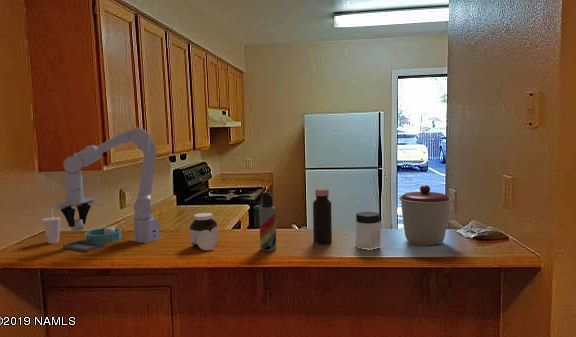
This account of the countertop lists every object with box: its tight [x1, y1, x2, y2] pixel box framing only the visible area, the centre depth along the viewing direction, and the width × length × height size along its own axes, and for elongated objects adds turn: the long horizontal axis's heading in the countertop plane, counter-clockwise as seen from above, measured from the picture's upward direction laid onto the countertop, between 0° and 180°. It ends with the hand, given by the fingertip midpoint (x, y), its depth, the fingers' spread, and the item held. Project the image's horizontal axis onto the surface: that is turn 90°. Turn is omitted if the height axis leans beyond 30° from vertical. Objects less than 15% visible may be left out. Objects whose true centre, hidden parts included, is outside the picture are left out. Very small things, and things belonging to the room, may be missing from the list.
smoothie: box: [42, 207, 62, 244], centre depth 165 cm, size 6×6×14 cm
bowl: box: [84, 227, 123, 244], centre depth 169 cm, size 13×13×4 cm
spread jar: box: [189, 212, 219, 251], centre depth 155 cm, size 12×11×12 cm
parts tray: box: [62, 239, 106, 253], centre depth 157 cm, size 13×7×2 cm, turn 62°
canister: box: [398, 184, 452, 246], centre depth 154 cm, size 18×18×21 cm
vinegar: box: [312, 188, 333, 245], centre depth 157 cm, size 7×7×20 cm
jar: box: [355, 211, 381, 249], centre depth 150 cm, size 9×8×12 cm
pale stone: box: [103, 226, 116, 235], centre depth 171 cm, size 4×4×4 cm
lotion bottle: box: [258, 193, 277, 252], centre depth 150 cm, size 6×6×20 cm
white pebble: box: [70, 218, 84, 232], centre depth 158 cm, size 4×4×4 cm
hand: (77, 225), depth 158 cm, fingers closed on white pebble, 4 cm apart
